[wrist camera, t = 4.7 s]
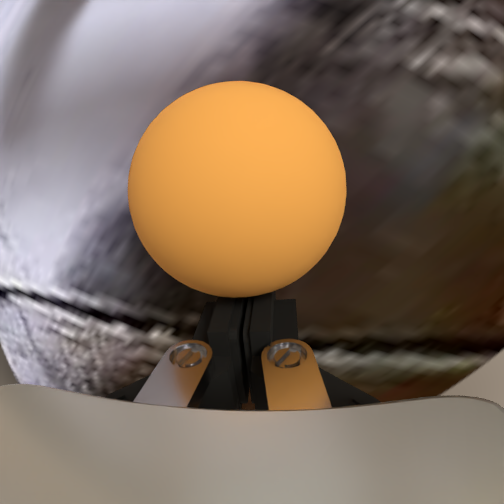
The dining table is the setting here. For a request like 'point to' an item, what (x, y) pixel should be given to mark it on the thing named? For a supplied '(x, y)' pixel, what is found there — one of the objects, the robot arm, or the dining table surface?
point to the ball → (237, 189)
